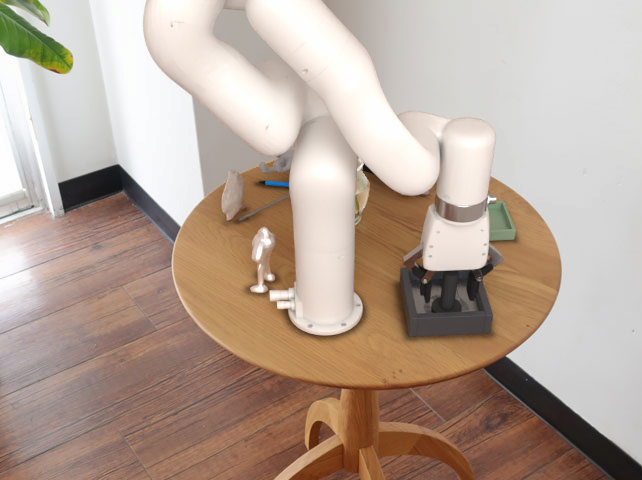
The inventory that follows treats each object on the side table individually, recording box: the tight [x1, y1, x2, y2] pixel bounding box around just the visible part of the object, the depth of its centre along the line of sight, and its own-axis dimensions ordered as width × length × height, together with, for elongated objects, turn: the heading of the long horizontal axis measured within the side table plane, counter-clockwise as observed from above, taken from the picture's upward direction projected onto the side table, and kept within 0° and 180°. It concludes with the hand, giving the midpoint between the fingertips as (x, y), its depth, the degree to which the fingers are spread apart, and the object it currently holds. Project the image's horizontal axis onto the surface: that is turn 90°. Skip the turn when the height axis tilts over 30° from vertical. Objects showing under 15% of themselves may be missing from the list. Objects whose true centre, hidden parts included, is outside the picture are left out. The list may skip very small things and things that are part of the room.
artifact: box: [221, 169, 246, 222], centre depth 148 cm, size 7×3×10 cm, turn 150°
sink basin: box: [398, 266, 494, 338], centre depth 131 cm, size 13×13×4 cm
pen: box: [257, 180, 289, 188], centre depth 159 cm, size 1×19×1 cm, turn 79°
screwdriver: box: [238, 193, 290, 222], centre depth 154 cm, size 4×25×4 cm
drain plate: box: [410, 278, 480, 314], centre depth 131 cm, size 11×12×2 cm
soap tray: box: [488, 200, 517, 242], centre depth 149 cm, size 10×7×2 cm
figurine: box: [249, 226, 276, 294], centre depth 133 cm, size 7×4×12 cm, turn 160°
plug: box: [431, 270, 462, 313], centre depth 127 cm, size 5×5×10 cm
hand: (448, 295), depth 127 cm, fingers open, 6 cm apart
